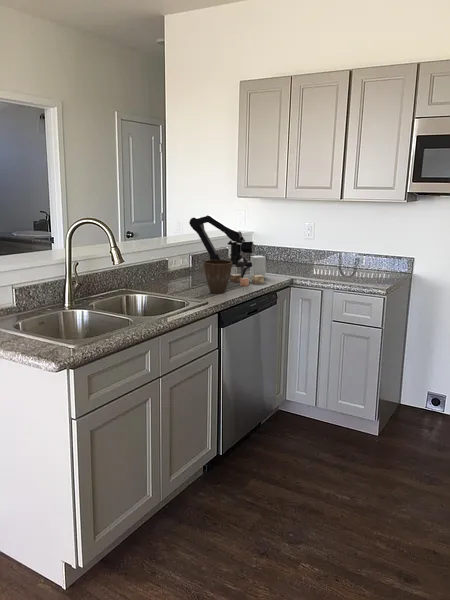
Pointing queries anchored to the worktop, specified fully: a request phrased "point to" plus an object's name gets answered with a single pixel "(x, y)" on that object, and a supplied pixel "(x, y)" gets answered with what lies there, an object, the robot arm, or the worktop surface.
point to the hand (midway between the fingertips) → (235, 279)
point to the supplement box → (258, 265)
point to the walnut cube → (235, 277)
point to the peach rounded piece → (244, 281)
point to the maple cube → (257, 279)
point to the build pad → (257, 284)
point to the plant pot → (217, 274)
